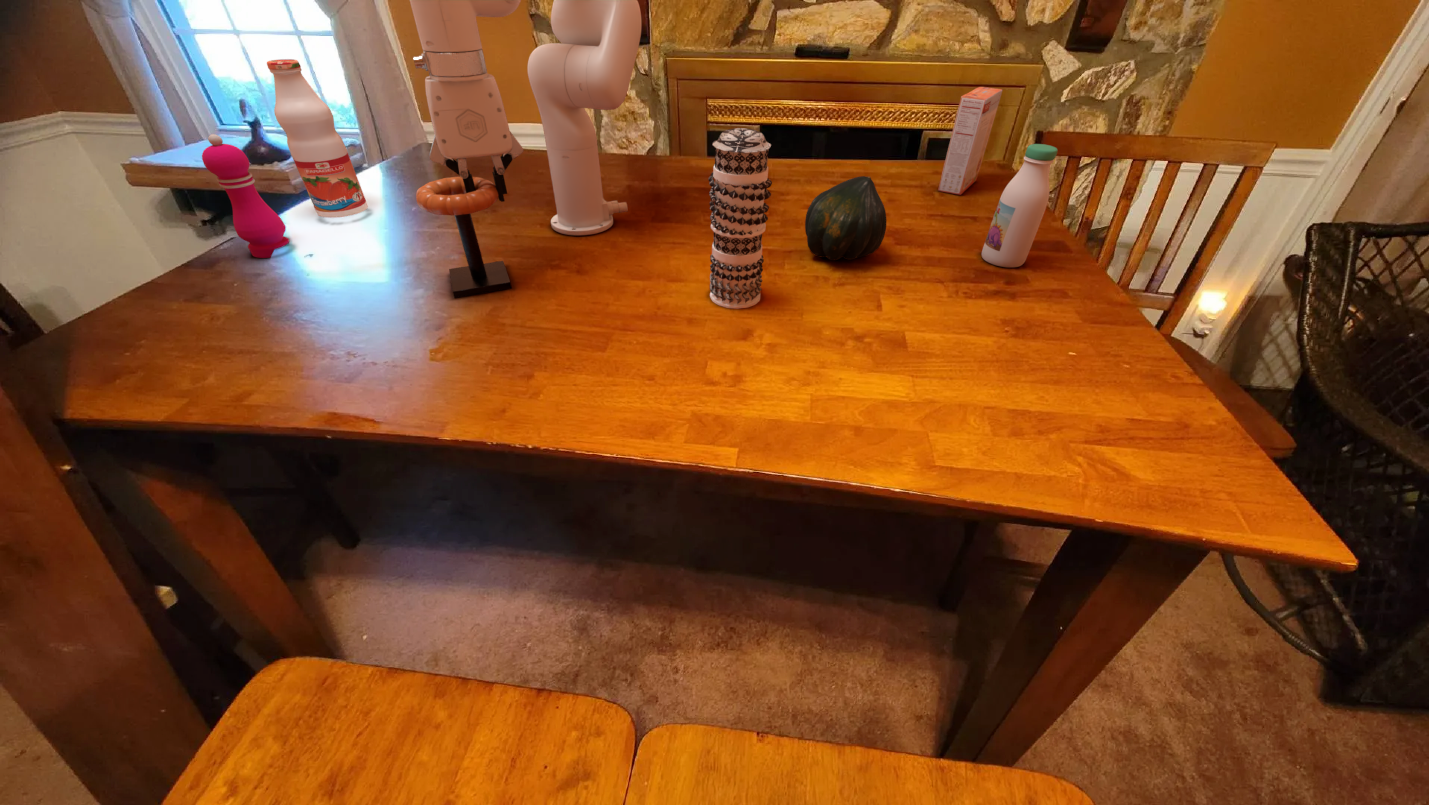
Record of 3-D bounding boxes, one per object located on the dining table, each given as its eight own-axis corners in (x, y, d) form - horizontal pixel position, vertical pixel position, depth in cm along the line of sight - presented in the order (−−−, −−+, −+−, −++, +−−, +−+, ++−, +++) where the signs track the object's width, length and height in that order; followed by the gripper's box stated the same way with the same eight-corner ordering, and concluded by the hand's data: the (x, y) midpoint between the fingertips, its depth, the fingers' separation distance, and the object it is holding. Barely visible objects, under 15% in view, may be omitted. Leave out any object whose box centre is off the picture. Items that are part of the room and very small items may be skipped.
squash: (777, 221, 103) (833, 169, 91) (822, 205, 112) (878, 156, 100) (816, 286, 103) (877, 243, 91) (858, 265, 112) (918, 223, 100)
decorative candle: (723, 315, 87) (729, 144, 71) (697, 289, 93) (697, 128, 77) (773, 302, 90) (789, 137, 74) (745, 279, 96) (753, 122, 81)
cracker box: (953, 177, 144) (978, 85, 131) (976, 181, 141) (1005, 88, 128) (935, 191, 135) (960, 94, 122) (960, 196, 132) (988, 97, 119)
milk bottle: (1024, 255, 106) (1068, 144, 93) (1023, 272, 100) (1069, 155, 88) (981, 248, 108) (1018, 138, 96) (978, 263, 103) (1017, 149, 90)
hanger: (504, 266, 99) (486, 191, 90) (511, 288, 92) (493, 209, 84) (450, 275, 96) (427, 198, 88) (454, 298, 89) (429, 217, 81)
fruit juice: (371, 205, 121) (315, 56, 104) (369, 220, 114) (308, 63, 97) (322, 210, 118) (256, 58, 101) (317, 226, 112) (245, 65, 94)
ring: (494, 188, 92) (490, 171, 90) (504, 211, 84) (499, 193, 82) (418, 197, 88) (413, 178, 86) (420, 222, 80) (414, 202, 78)
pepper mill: (273, 261, 99) (211, 141, 86) (239, 257, 100) (172, 138, 87) (304, 245, 104) (250, 130, 92) (271, 241, 106) (213, 127, 93)
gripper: (390, 72, 70) (433, 215, 82) (522, 66, 76) (546, 201, 87) (390, 63, 76) (431, 199, 87) (514, 59, 81) (537, 187, 92)
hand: (488, 199), depth 87 cm, fingers closed on ring, 3 cm apart
